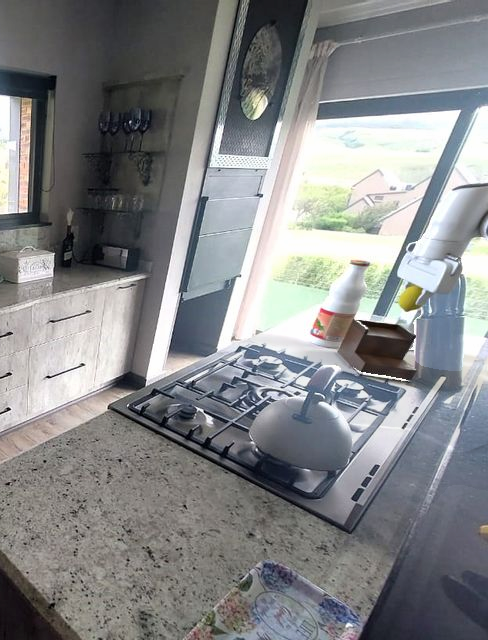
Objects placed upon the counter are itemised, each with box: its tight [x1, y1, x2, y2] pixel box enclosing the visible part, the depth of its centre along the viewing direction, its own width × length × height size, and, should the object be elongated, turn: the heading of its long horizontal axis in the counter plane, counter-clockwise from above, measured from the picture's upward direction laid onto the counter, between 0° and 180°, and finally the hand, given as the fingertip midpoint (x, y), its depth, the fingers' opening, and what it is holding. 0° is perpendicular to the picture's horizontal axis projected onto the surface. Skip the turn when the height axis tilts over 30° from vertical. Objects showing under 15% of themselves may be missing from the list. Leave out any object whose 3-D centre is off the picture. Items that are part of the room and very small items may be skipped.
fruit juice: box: [307, 259, 371, 349], centre depth 133 cm, size 9×9×28 cm
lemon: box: [398, 285, 423, 312], centre depth 112 cm, size 6×6×8 cm
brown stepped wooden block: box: [337, 318, 418, 384], centre depth 122 cm, size 12×18×12 cm, turn 159°
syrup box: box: [395, 308, 421, 352], centre depth 135 cm, size 6×6×14 cm
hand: (411, 301), depth 113 cm, fingers closed on lemon, 5 cm apart
